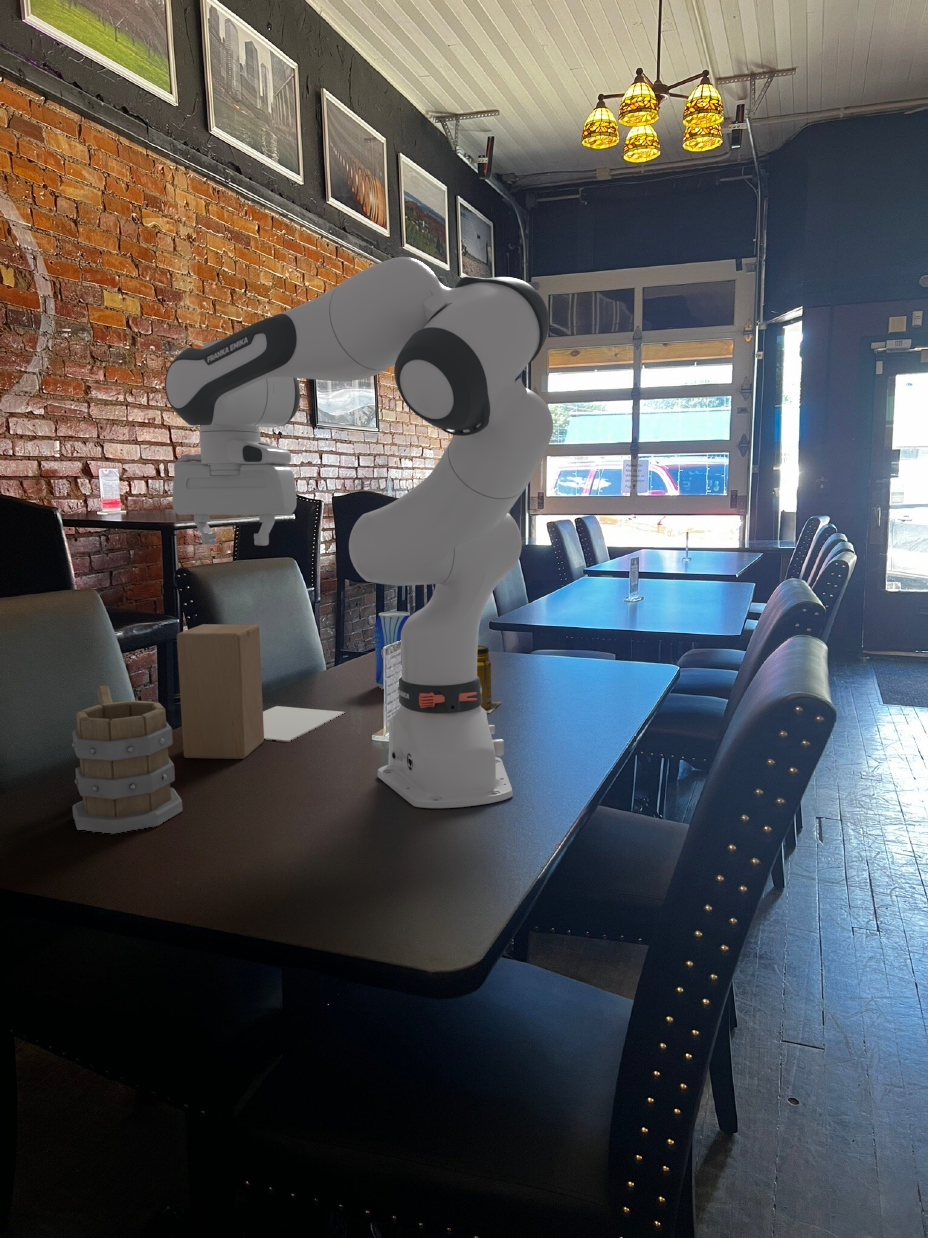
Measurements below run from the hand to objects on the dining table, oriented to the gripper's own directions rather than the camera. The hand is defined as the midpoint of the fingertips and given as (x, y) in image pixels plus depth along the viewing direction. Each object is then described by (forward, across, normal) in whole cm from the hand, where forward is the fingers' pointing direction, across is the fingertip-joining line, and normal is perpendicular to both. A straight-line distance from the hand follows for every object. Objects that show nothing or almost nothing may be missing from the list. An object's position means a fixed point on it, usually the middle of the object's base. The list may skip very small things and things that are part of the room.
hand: (235, 544), depth 131 cm
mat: (+33, -5, +19) cm, 39 cm away
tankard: (+34, -2, -24) cm, 42 cm away
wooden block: (+34, -5, +2) cm, 34 cm away
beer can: (+33, +3, +52) cm, 62 cm away
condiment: (+34, +25, +41) cm, 59 cm away
